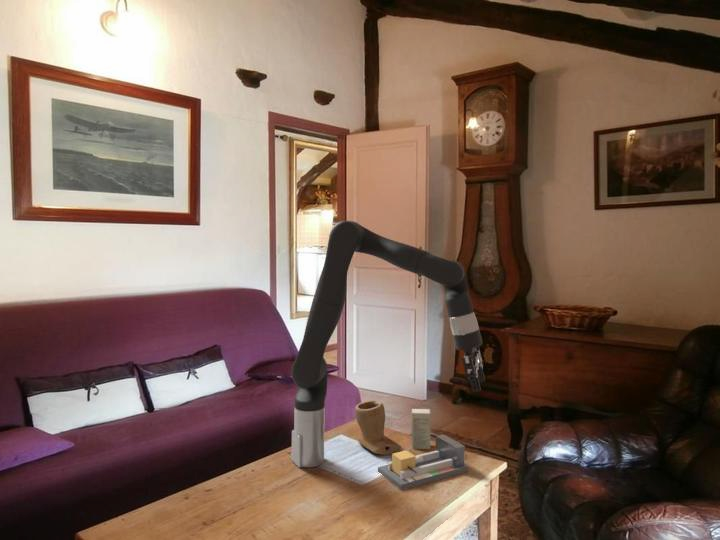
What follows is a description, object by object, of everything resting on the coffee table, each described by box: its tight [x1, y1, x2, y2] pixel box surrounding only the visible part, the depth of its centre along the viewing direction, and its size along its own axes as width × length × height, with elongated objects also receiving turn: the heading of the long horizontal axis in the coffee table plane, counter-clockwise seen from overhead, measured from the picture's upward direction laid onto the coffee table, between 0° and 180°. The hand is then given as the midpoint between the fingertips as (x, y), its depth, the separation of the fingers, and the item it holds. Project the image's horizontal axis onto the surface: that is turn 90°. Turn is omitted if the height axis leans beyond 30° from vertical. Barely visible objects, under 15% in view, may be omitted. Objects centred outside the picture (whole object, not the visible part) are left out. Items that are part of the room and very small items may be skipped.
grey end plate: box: [435, 434, 466, 468], centre depth 159 cm, size 3×10×6 cm, turn 29°
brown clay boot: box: [354, 400, 403, 456], centre depth 171 cm, size 15×12×15 cm
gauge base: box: [377, 450, 469, 491], centre depth 155 cm, size 24×12×4 cm, turn 119°
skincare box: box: [411, 408, 431, 450], centre depth 172 cm, size 6×4×12 cm
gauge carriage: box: [391, 449, 424, 475], centre depth 150 cm, size 9×9×5 cm
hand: (479, 386), depth 146 cm, fingers open, 8 cm apart
